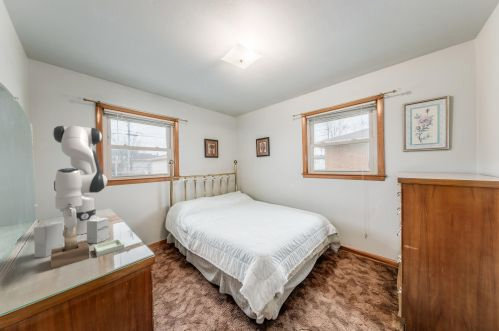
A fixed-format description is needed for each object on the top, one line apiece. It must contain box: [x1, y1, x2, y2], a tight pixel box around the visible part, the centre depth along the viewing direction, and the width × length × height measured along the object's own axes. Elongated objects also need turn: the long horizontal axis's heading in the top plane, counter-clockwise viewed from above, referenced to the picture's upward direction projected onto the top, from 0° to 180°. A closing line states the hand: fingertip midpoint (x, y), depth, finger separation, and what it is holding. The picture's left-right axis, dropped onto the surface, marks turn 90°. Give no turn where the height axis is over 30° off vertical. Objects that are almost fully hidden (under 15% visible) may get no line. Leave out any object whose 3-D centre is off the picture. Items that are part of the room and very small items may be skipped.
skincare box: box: [33, 221, 64, 258], centre depth 89 cm, size 8×6×15 cm
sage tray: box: [93, 238, 125, 258], centre depth 92 cm, size 11×11×2 cm
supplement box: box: [86, 217, 110, 244], centre depth 104 cm, size 7×7×13 cm
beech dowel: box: [63, 224, 78, 251], centre depth 83 cm, size 4×4×12 cm
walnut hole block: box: [50, 240, 90, 271], centre depth 83 cm, size 12×12×5 cm
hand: (70, 232), depth 83 cm, fingers closed on beech dowel, 4 cm apart
